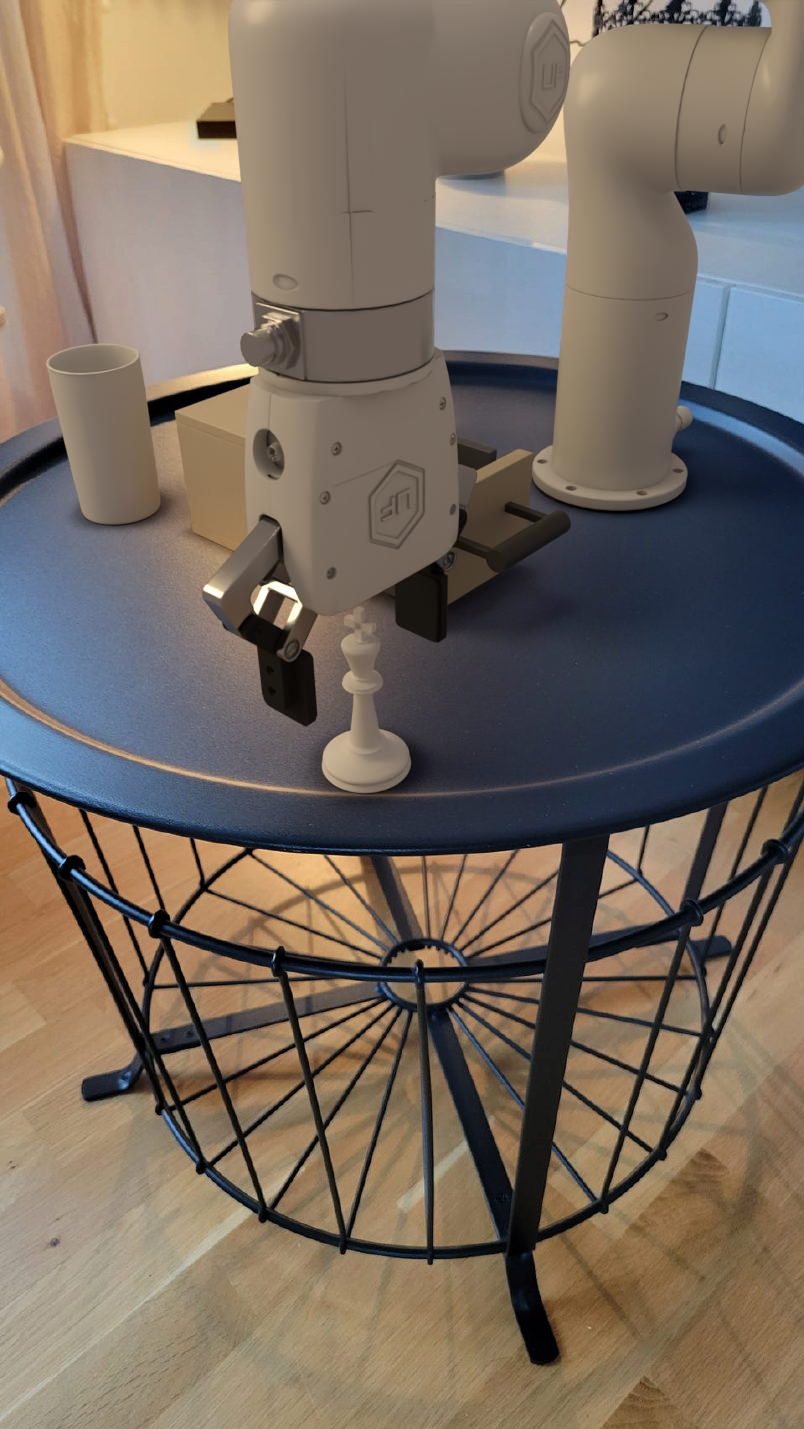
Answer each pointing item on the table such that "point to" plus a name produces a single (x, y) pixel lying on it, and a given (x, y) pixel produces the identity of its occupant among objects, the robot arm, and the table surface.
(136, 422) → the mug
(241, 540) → the cabinet
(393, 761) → the chess piece
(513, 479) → the drawer
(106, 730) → the table surface
